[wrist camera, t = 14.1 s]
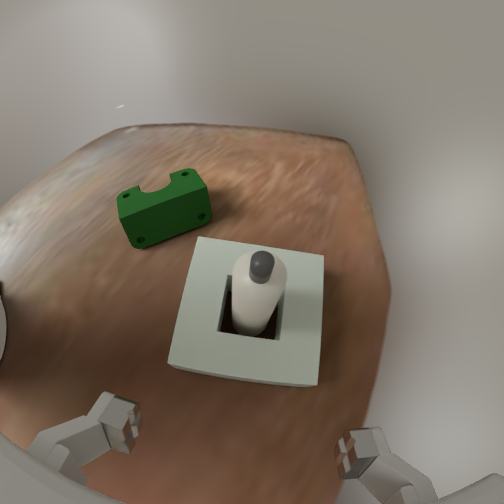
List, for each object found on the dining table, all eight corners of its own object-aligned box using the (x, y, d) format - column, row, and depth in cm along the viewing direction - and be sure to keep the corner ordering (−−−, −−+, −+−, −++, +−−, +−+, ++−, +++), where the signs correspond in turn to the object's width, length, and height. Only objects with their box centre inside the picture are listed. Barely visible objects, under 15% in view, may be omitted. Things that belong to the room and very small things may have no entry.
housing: (176, 368, 27) (167, 363, 23) (201, 256, 34) (198, 236, 30) (305, 387, 27) (317, 385, 23) (313, 273, 34) (323, 255, 30)
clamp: (191, 220, 42) (204, 167, 37) (203, 244, 38) (220, 187, 33) (114, 223, 36) (118, 163, 30) (118, 250, 32) (121, 185, 27)
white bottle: (229, 333, 29) (227, 283, 17) (234, 300, 32) (237, 231, 19) (265, 339, 29) (290, 292, 17) (269, 305, 31) (294, 240, 19)
